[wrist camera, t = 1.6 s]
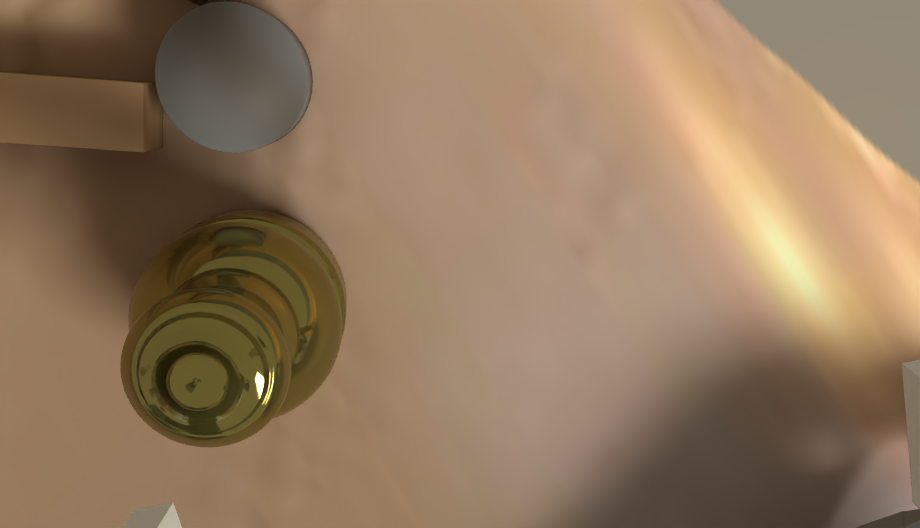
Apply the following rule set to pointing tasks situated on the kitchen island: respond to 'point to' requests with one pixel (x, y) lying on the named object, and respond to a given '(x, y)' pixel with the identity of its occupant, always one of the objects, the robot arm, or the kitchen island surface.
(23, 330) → the kitchen island surface
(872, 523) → the gun
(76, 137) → the long rectangular block
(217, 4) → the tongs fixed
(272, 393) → the yellow-green tapered rounded piece
